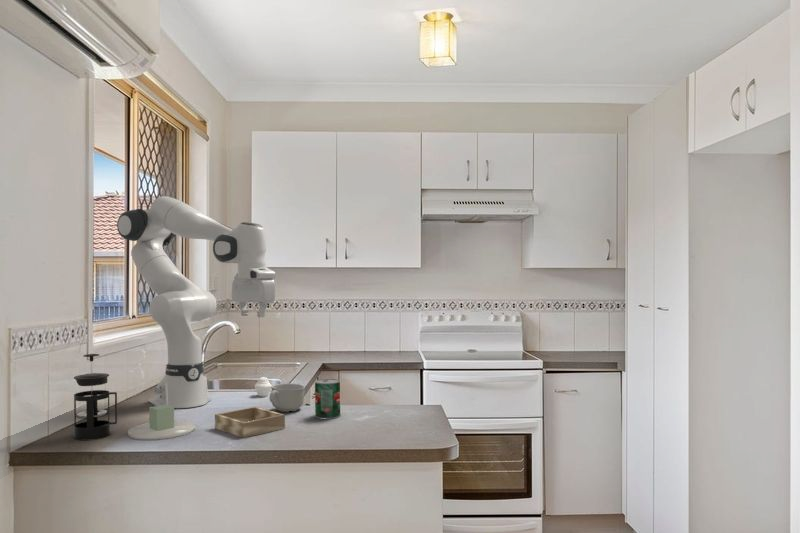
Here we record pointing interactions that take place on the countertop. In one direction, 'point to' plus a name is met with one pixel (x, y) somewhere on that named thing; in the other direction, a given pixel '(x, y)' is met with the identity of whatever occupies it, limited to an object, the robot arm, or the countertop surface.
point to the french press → (92, 406)
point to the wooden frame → (241, 427)
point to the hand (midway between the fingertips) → (252, 316)
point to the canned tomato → (327, 398)
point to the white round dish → (161, 431)
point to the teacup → (287, 396)
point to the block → (161, 417)
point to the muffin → (263, 387)
